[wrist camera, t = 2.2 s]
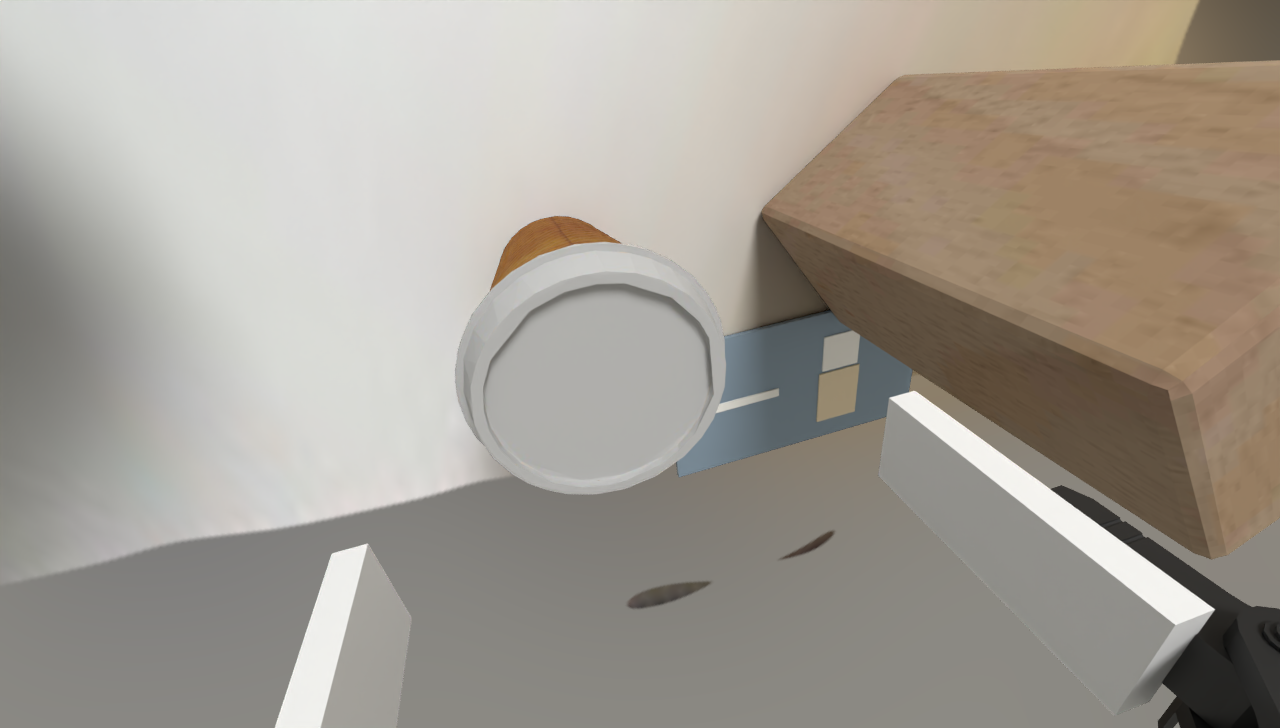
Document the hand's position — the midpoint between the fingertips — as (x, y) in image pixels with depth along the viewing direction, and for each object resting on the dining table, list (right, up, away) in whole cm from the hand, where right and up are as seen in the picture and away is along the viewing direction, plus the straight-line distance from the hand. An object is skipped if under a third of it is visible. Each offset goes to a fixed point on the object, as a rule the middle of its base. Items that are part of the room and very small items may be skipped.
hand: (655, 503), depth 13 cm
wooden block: (+13, +12, +17) cm, 25 cm away
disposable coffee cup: (-5, +8, +14) cm, 17 cm away
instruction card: (+10, +2, +22) cm, 24 cm away
